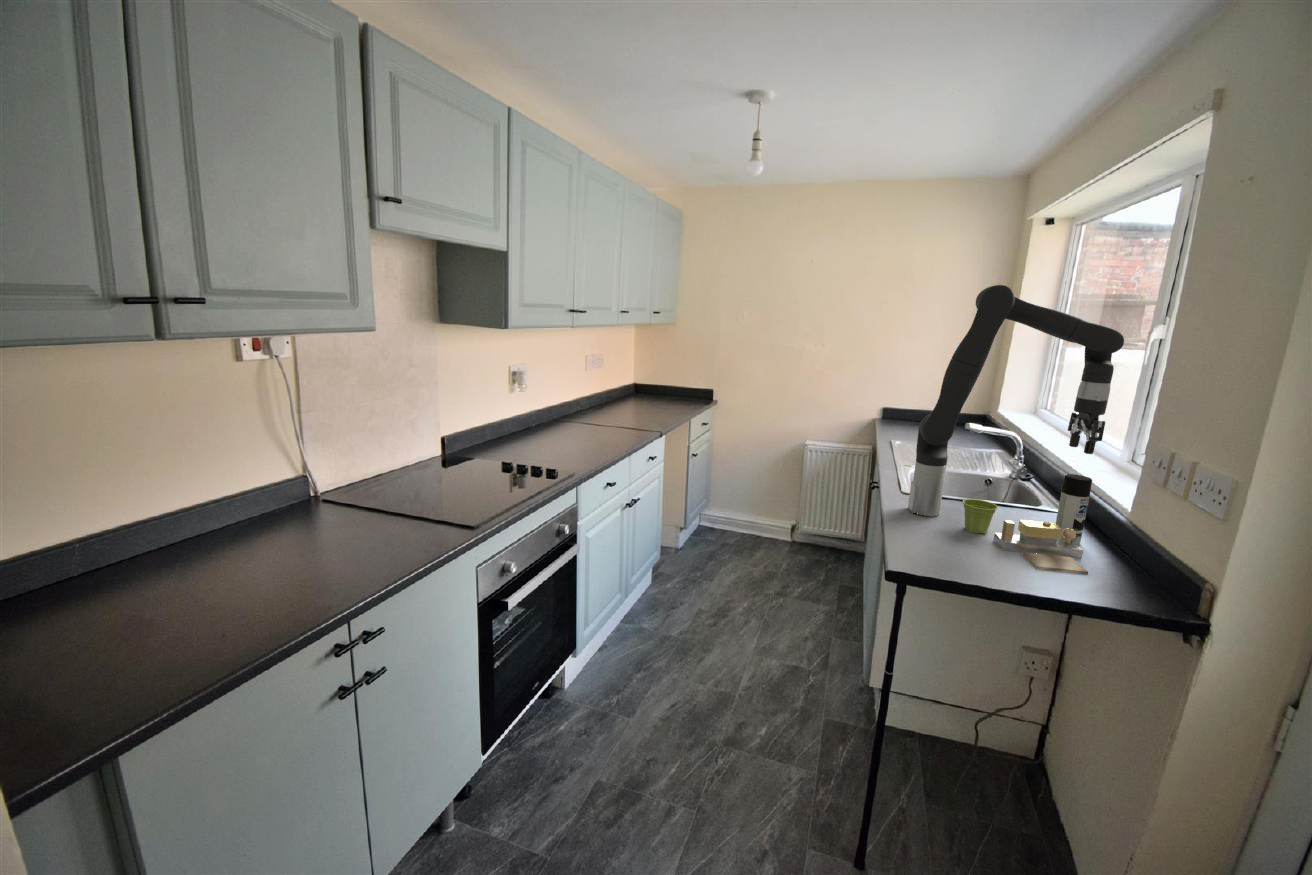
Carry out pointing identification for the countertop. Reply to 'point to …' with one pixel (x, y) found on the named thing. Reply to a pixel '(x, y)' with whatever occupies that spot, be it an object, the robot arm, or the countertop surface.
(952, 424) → the robot arm
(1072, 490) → the spray can
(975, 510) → the plant pot
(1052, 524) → the lever cap
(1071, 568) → the cork mat
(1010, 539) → the plane body
